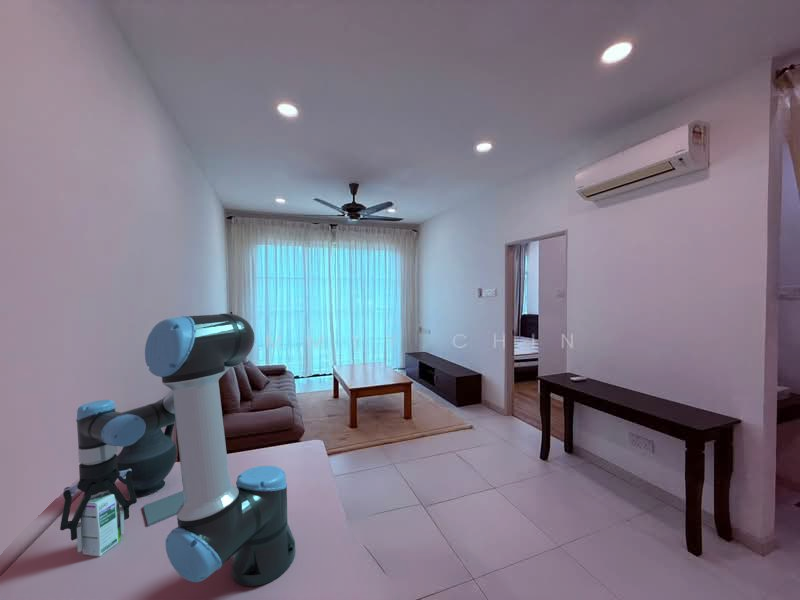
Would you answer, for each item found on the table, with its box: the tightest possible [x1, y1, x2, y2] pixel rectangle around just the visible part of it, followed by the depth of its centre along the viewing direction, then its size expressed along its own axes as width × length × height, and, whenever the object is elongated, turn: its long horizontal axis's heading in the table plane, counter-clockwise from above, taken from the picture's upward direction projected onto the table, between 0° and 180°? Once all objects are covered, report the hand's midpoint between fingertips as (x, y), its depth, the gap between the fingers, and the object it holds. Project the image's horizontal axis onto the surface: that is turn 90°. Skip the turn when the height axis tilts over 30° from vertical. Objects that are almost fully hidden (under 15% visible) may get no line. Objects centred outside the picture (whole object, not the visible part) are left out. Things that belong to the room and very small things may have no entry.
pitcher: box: [117, 398, 177, 498], centre depth 115 cm, size 17×21×30 cm
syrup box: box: [80, 490, 122, 557], centre depth 87 cm, size 6×6×14 cm
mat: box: [142, 490, 184, 527], centre depth 103 cm, size 12×12×1 cm
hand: (102, 539), depth 87 cm, fingers closed on syrup box, 8 cm apart
